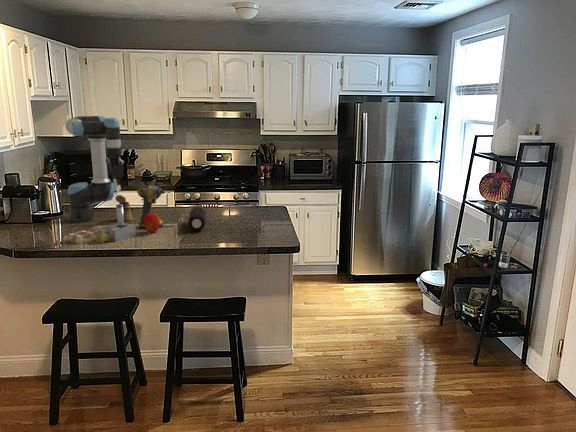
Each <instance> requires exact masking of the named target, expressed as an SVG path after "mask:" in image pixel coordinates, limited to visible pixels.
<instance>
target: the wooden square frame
mask: <svg viewBox="0 0 576 432" xmlns="http://www.w3.org/2000/svg"><path fill="white" fill-rule="evenodd" d="M68 238H69V242H72V243H76V244H79V245H80V244H84V243H87V242H91V241H95V240H96V238H95V232H94V231H88V230H84V229H83V230H79V231H75V232H72V233H68Z"/></svg>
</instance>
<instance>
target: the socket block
mask: <svg viewBox="0 0 576 432" xmlns="http://www.w3.org/2000/svg"><path fill="white" fill-rule="evenodd" d="M136 231H137V229H136V224H129V223H127V222H126V223H125V227H121V228H120V227H118V223H116V224H112V225H108V226H104V227H101V234H104V233H110V236H111V240H110V241H111V242H120V241H123V240H126V239H129V238H132V237H135V236H137V232H136Z"/></svg>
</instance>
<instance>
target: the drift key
mask: <svg viewBox="0 0 576 432" xmlns="http://www.w3.org/2000/svg"><path fill="white" fill-rule="evenodd" d="M95 240H96V243H100V244H104V243H106V242H109V241H111V236H110V233H104V234H102V233H96V234H95Z"/></svg>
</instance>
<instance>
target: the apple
mask: <svg viewBox="0 0 576 432" xmlns="http://www.w3.org/2000/svg"><path fill="white" fill-rule="evenodd" d="M143 221H144V226H145V228H144V229H145V230H146V231H147V232H148V233H149V234H153V233H156V232H157V231H158V230H159V224H160V217H159V215H158V214H157V213H153V212H150V214H146V215H145V217H144V220H143Z"/></svg>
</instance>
